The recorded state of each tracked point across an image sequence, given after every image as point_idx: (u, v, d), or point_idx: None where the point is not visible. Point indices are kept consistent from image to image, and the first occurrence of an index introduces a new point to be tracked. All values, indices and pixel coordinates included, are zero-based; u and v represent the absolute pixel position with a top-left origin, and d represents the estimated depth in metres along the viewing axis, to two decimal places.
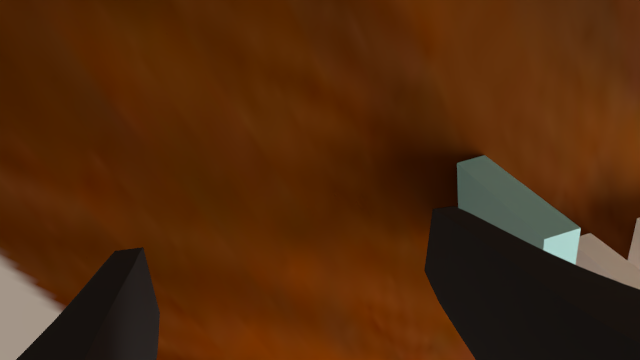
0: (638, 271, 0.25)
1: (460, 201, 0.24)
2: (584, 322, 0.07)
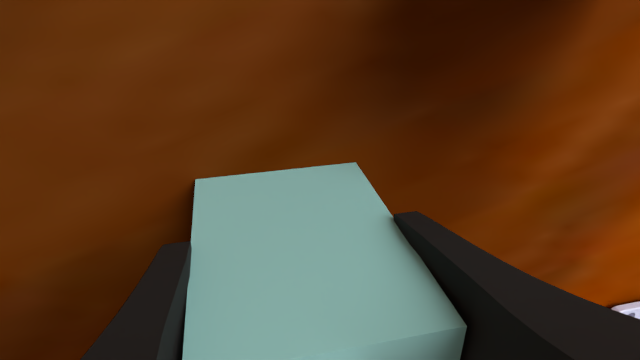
0: None
1: None
2: (524, 334, 0.06)
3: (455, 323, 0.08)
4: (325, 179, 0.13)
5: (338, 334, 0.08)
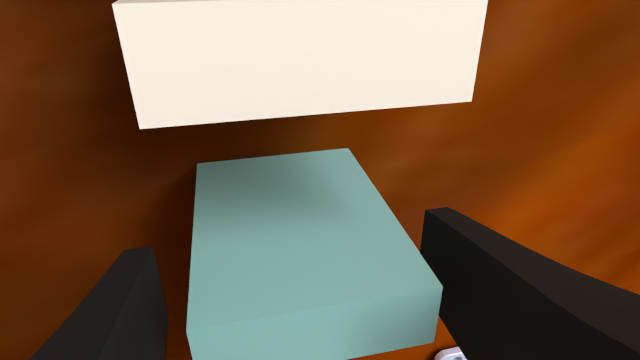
0: None
1: None
2: (572, 324, 0.07)
3: (432, 284, 0.09)
4: (319, 163, 0.14)
5: (327, 293, 0.09)
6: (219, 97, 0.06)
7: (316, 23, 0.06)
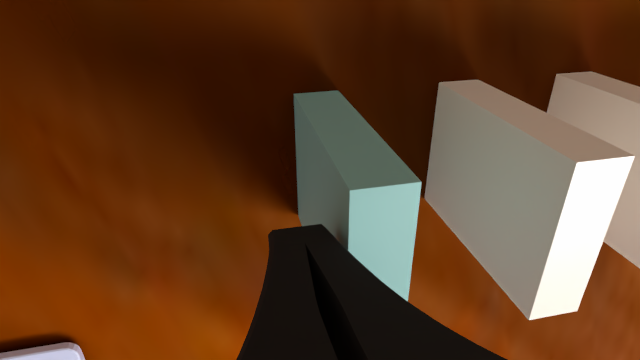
0: (540, 112, 0.13)
1: (297, 157, 0.16)
2: None
3: None
4: None
5: None
6: (577, 202, 0.11)
7: (592, 242, 0.11)
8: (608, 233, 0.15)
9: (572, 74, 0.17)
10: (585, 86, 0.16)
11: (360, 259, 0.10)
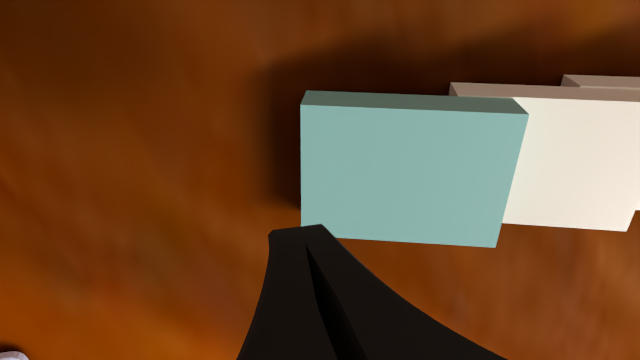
0: (559, 87, 0.16)
1: (309, 170, 0.15)
2: None
3: None
4: None
5: None
6: None
7: None
8: None
9: (581, 81, 0.16)
10: None
11: (512, 164, 0.14)
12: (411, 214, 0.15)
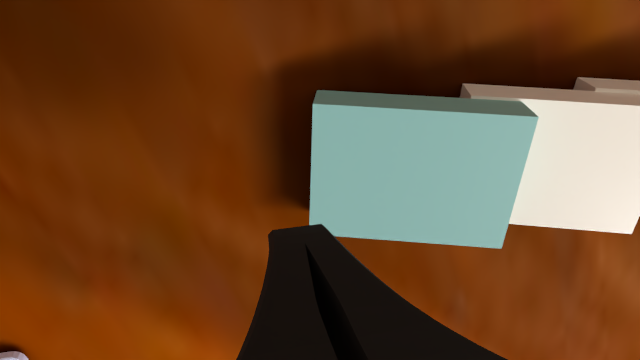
0: (569, 90, 0.16)
1: (319, 169, 0.15)
2: None
3: None
4: None
5: None
6: None
7: None
8: None
9: (596, 84, 0.16)
10: (639, 92, 0.16)
11: (520, 166, 0.14)
12: (420, 214, 0.15)
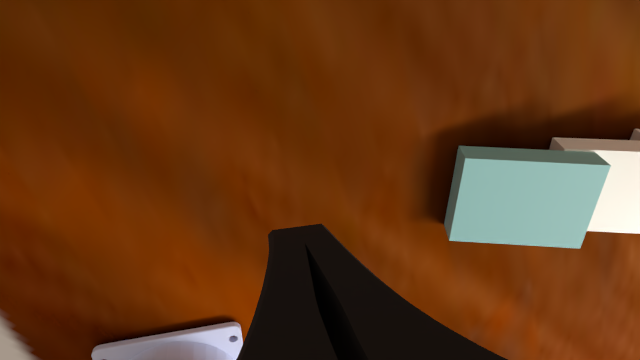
0: (625, 141, 0.24)
1: (463, 198, 0.22)
2: None
3: None
4: None
5: None
6: None
7: None
8: None
9: None
10: None
11: (595, 195, 0.22)
12: (527, 226, 0.23)
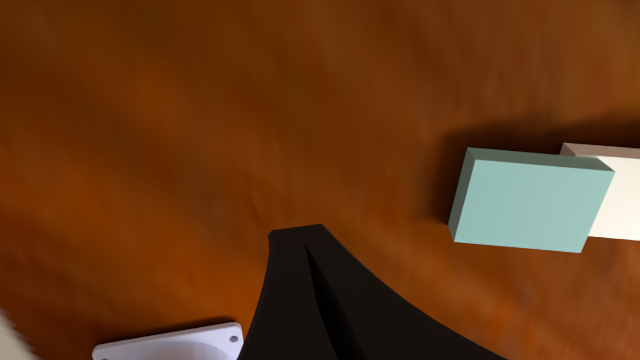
0: (634, 149, 0.24)
1: (470, 200, 0.23)
2: None
3: None
4: None
5: None
6: None
7: None
8: None
9: None
10: None
11: (598, 200, 0.23)
12: (531, 229, 0.23)
